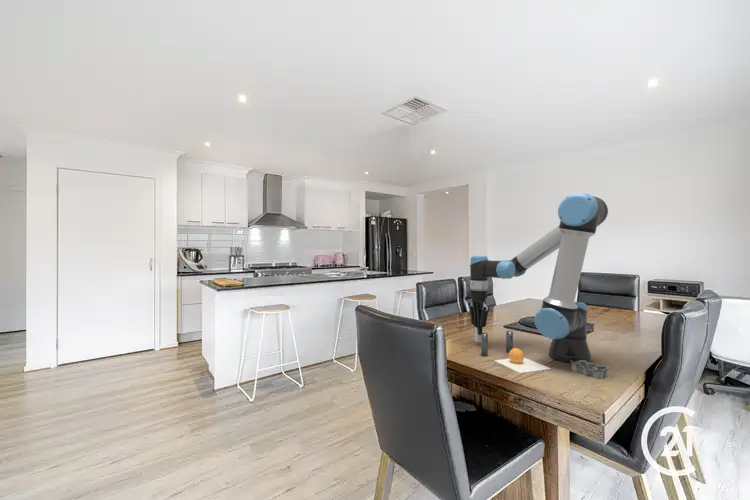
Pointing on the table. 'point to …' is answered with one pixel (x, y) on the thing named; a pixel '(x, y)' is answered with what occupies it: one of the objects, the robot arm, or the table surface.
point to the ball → (516, 355)
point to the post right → (509, 341)
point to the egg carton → (589, 368)
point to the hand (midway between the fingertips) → (478, 341)
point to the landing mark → (522, 365)
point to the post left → (484, 344)
